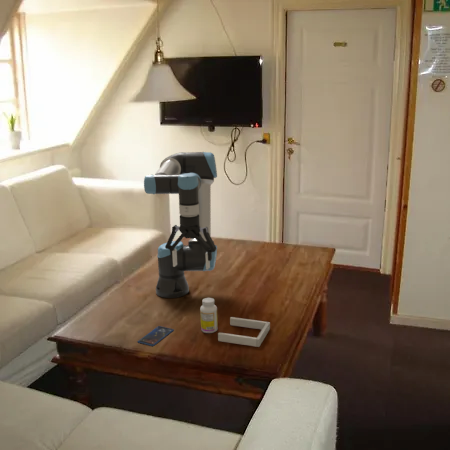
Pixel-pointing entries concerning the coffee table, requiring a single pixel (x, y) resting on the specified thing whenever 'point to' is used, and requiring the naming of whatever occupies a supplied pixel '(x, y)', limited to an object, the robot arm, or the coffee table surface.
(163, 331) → the smartphone
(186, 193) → the robot arm
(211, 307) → the supplement bottle
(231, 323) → the corral
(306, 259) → the coffee table surface
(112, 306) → the coffee table surface
